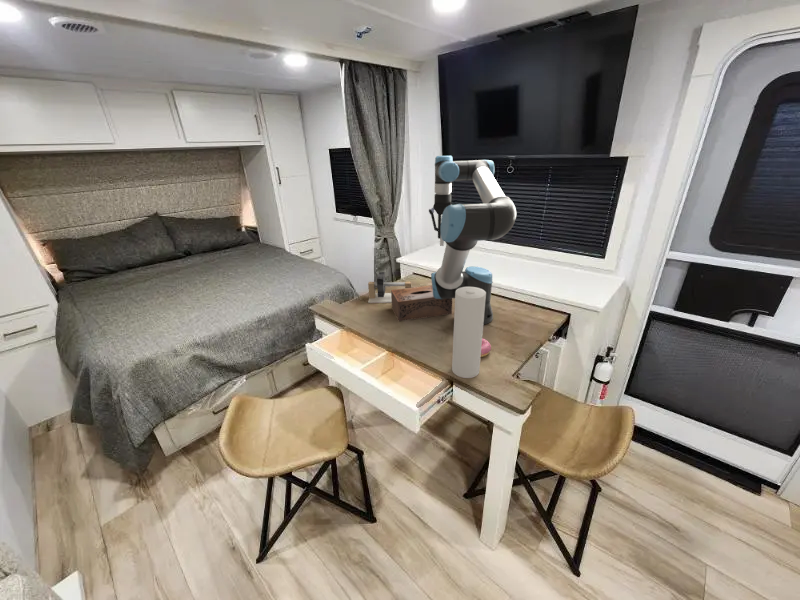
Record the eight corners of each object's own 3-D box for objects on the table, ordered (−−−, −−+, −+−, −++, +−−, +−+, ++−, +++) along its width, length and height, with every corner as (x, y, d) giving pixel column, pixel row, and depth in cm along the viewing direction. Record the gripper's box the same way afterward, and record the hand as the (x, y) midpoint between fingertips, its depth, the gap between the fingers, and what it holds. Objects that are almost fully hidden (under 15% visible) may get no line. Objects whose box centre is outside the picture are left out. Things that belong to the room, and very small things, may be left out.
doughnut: (496, 350, 126) (497, 341, 125) (480, 362, 119) (481, 353, 117) (471, 340, 133) (472, 331, 132) (455, 351, 126) (456, 342, 125)
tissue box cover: (398, 321, 150) (397, 301, 146) (391, 308, 163) (391, 290, 159) (451, 314, 155) (452, 294, 151) (441, 302, 168) (441, 284, 164)
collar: (383, 297, 168) (382, 278, 164) (377, 297, 168) (376, 278, 164) (385, 289, 177) (384, 272, 173) (379, 289, 177) (378, 272, 173)
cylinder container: (462, 381, 110) (468, 299, 97) (446, 366, 117) (449, 288, 105) (484, 372, 113) (492, 292, 101) (467, 359, 121) (472, 283, 109)
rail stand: (411, 302, 168) (410, 286, 164) (368, 302, 169) (367, 286, 165) (411, 294, 178) (411, 278, 174) (370, 294, 179) (369, 278, 175)
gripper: (456, 192, 150) (454, 242, 160) (428, 192, 151) (427, 243, 160) (458, 194, 143) (456, 247, 153) (428, 194, 144) (428, 247, 153)
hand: (441, 245), depth 156 cm, fingers closed
